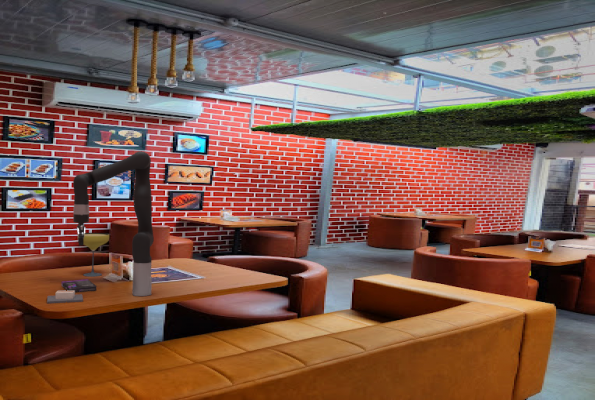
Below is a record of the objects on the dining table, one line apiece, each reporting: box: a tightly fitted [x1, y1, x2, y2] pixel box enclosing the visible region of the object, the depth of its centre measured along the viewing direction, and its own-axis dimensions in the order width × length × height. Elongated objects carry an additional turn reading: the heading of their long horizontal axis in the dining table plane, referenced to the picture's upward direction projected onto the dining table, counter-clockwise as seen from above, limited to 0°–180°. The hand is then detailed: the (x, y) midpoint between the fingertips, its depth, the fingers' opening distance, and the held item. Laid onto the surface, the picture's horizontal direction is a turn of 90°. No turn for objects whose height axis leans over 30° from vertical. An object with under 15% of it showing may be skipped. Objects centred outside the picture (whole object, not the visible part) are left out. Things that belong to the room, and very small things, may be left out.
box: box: [60, 278, 97, 294], centre depth 289 cm, size 14×4×20 cm
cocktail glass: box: [83, 232, 110, 278], centre depth 326 cm, size 18×18×25 cm
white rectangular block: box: [55, 290, 76, 299], centre depth 264 cm, size 8×5×3 cm, turn 103°
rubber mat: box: [46, 293, 84, 304], centre depth 264 cm, size 16×12×1 cm
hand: (80, 244), depth 275 cm, fingers open, 8 cm apart
